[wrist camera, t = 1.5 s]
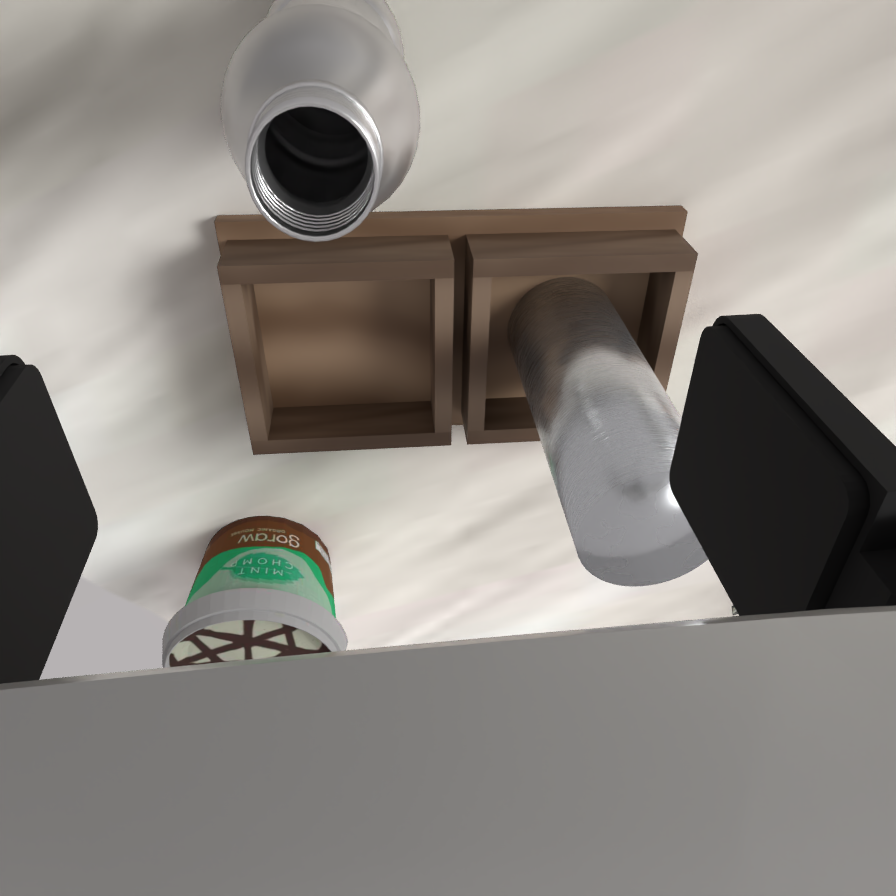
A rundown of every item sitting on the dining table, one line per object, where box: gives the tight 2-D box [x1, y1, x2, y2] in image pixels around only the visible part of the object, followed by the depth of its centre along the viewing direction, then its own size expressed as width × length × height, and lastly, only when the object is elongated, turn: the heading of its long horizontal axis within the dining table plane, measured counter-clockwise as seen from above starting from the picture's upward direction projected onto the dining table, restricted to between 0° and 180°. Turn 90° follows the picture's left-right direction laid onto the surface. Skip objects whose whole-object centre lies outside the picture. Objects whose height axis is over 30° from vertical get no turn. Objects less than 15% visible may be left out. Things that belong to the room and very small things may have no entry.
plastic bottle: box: [221, 0, 420, 242], centre depth 27 cm, size 6×7×20 cm
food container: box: [162, 516, 348, 668], centre depth 50 cm, size 12×6×10 cm, turn 90°
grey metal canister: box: [507, 277, 708, 586], centre depth 37 cm, size 7×7×18 cm
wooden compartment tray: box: [214, 206, 698, 455], centre depth 43 cm, size 14×26×4 cm, turn 89°
